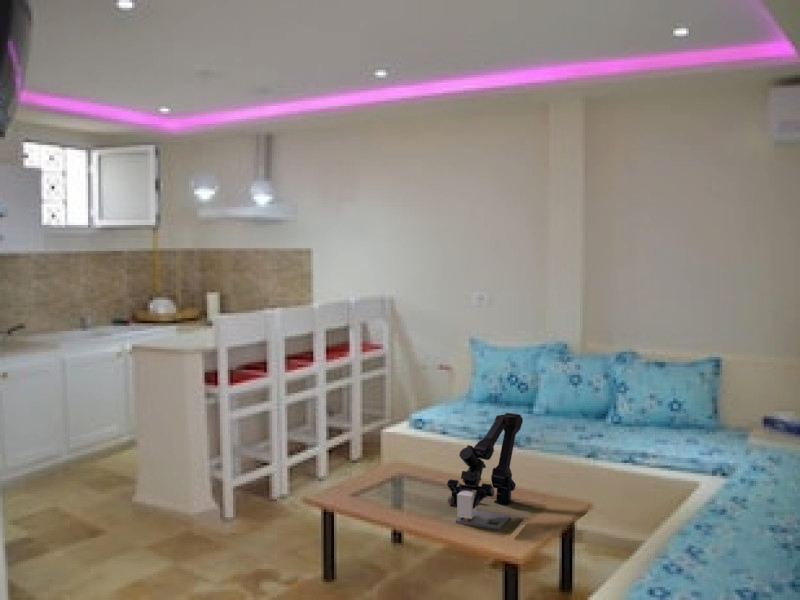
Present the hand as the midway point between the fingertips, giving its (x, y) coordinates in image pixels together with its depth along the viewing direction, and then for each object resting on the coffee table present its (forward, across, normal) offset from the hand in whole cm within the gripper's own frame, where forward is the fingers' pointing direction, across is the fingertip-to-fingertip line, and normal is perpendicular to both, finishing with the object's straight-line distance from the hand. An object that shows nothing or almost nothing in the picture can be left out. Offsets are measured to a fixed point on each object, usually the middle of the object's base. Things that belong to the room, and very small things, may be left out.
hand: (465, 507), depth 283 cm
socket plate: (+2, +6, +9) cm, 11 cm away
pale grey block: (+3, 0, +5) cm, 6 cm away
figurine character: (-10, -10, +22) cm, 26 cm away
